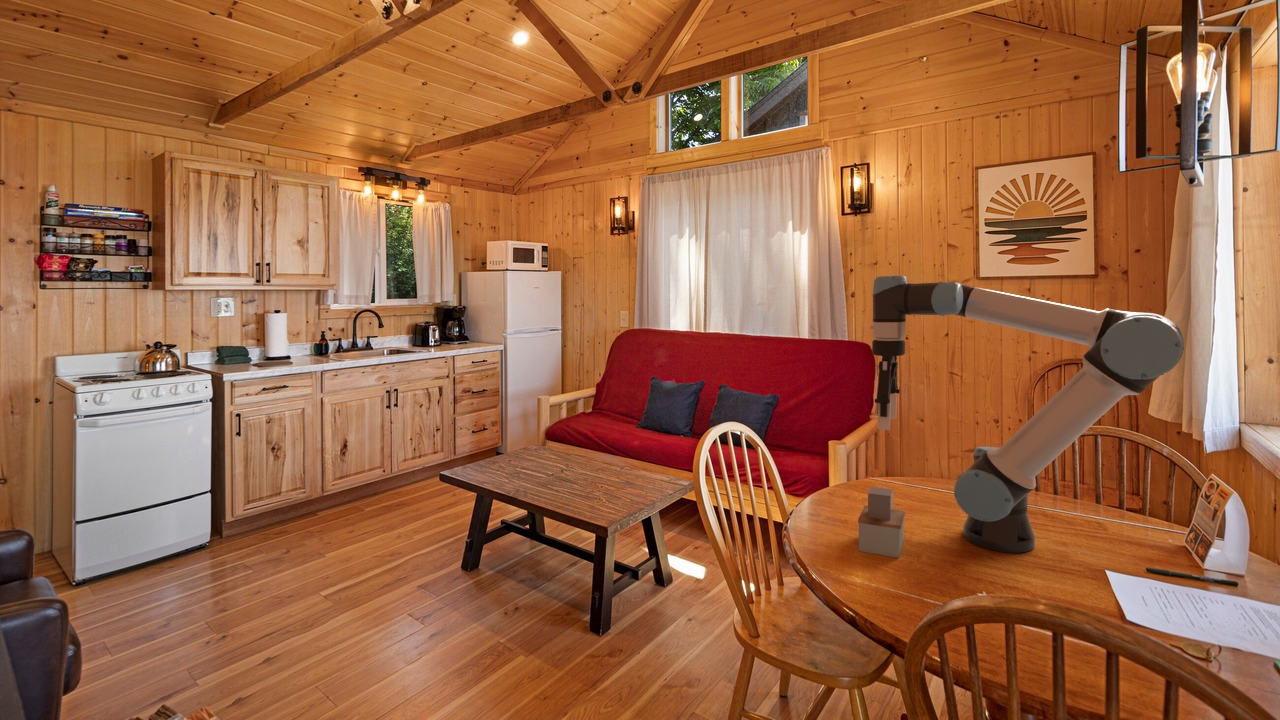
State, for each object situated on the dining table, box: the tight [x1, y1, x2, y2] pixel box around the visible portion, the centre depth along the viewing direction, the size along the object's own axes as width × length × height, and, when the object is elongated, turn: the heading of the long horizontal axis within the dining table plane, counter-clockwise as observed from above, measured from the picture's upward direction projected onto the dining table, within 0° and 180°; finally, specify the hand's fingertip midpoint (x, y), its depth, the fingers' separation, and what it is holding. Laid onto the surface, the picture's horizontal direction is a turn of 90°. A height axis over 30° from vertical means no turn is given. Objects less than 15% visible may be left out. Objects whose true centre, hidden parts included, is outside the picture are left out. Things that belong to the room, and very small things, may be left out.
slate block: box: [867, 486, 894, 520], centre depth 146 cm, size 5×5×6 cm
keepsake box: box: [857, 518, 905, 559], centre depth 147 cm, size 9×10×7 cm
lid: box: [857, 505, 906, 529], centre depth 147 cm, size 9×10×1 cm
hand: (887, 424), depth 151 cm, fingers open, 13 cm apart
